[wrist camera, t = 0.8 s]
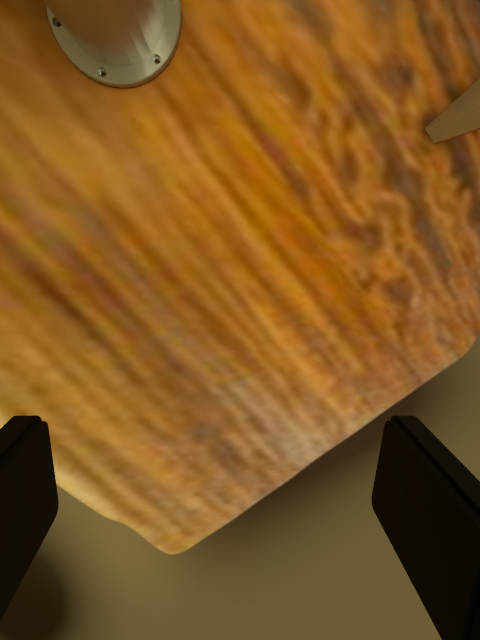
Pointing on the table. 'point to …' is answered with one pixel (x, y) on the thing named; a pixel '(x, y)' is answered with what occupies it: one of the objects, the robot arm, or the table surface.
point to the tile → (457, 116)
